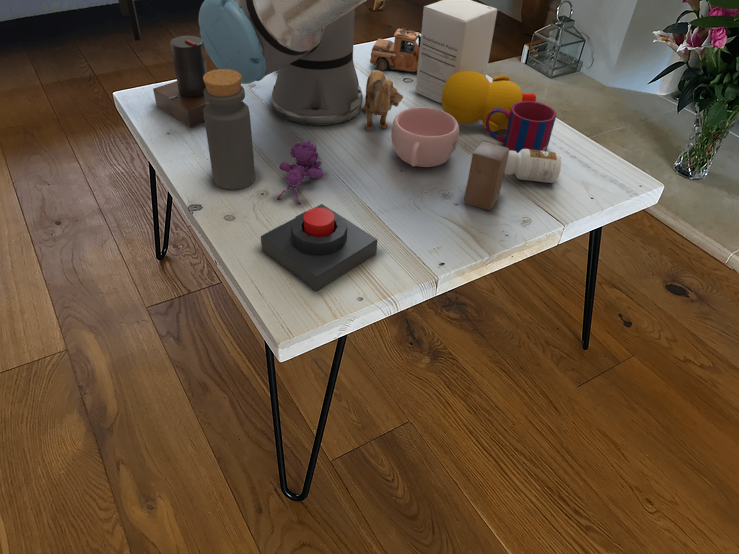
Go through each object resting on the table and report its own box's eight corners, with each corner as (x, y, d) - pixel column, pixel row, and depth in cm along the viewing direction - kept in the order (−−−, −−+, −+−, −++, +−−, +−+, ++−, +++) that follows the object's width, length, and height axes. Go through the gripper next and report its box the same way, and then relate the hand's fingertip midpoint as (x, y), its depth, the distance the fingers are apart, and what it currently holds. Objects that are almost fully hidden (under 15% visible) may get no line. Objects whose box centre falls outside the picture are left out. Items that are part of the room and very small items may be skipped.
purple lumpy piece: (333, 142, 84) (313, 163, 78) (331, 184, 88) (311, 207, 81) (288, 133, 85) (265, 153, 79) (288, 174, 89) (265, 197, 82)
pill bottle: (564, 151, 85) (510, 144, 85) (559, 182, 86) (505, 176, 85) (553, 154, 90) (502, 148, 89) (549, 184, 90) (498, 178, 90)
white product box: (445, 78, 113) (456, -7, 103) (483, 94, 109) (500, 8, 99) (413, 92, 108) (422, 4, 98) (452, 110, 104) (466, 20, 94)
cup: (541, 166, 92) (553, 125, 87) (477, 151, 94) (485, 111, 90) (548, 145, 97) (559, 106, 92) (486, 132, 99) (494, 93, 94)
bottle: (220, 194, 82) (206, 89, 72) (208, 172, 86) (192, 70, 76) (261, 184, 85) (252, 82, 75) (247, 163, 88) (237, 63, 78)
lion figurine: (401, 139, 96) (406, 85, 90) (368, 141, 95) (371, 86, 89) (382, 97, 106) (385, 46, 100) (352, 98, 106) (353, 47, 99)
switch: (297, 227, 72) (297, 215, 71) (320, 215, 74) (320, 203, 73) (318, 241, 70) (318, 229, 69) (340, 228, 72) (340, 217, 71)
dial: (172, 89, 98) (163, 38, 92) (198, 81, 101) (190, 31, 95) (189, 100, 96) (181, 48, 90) (215, 91, 98) (208, 40, 93)
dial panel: (156, 105, 100) (152, 87, 98) (202, 90, 105) (199, 72, 103) (190, 128, 95) (187, 109, 93) (237, 110, 100) (235, 92, 98)
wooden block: (462, 203, 84) (472, 152, 78) (472, 189, 86) (481, 139, 81) (490, 212, 82) (501, 161, 77) (499, 197, 85) (510, 147, 80)
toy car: (372, 58, 119) (374, 22, 114) (433, 64, 118) (437, 28, 114) (368, 71, 114) (370, 34, 109) (432, 77, 113) (436, 40, 109)
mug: (399, 135, 97) (402, 100, 93) (460, 147, 95) (466, 113, 91) (377, 173, 88) (379, 137, 84) (444, 188, 86) (449, 151, 82)
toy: (533, 93, 102) (446, 75, 103) (545, 74, 94) (450, 55, 94) (521, 145, 102) (434, 127, 103) (533, 131, 93) (437, 111, 94)
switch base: (261, 249, 74) (259, 223, 72) (321, 217, 80) (321, 191, 77) (316, 291, 69) (316, 264, 67) (376, 253, 75) (378, 227, 72)
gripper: (51, -127, 72) (96, 49, 87) (260, -125, 78) (270, 39, 93) (57, -139, 78) (98, 29, 92) (252, -136, 83) (263, 21, 98)
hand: (184, 34), depth 92 cm, fingers open, 13 cm apart
